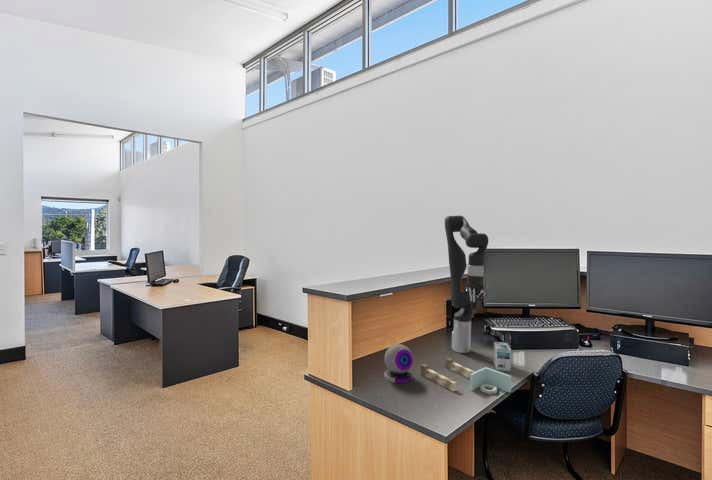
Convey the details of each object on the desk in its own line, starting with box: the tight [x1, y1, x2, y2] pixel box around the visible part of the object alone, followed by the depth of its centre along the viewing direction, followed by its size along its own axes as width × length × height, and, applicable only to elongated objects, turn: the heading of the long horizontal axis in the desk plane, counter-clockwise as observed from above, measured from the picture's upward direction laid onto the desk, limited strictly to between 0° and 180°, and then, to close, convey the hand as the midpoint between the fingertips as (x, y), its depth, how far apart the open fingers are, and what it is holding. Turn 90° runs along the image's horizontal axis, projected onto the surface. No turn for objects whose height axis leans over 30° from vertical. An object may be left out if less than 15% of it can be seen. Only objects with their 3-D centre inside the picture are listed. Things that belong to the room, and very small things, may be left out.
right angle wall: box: [469, 366, 512, 395], centre depth 158 cm, size 12×12×8 cm
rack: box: [420, 357, 476, 392], centre depth 170 cm, size 20×18×4 cm
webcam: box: [383, 343, 414, 384], centre depth 170 cm, size 13×13×15 cm
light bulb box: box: [493, 341, 512, 372], centre depth 184 cm, size 11×7×11 cm, turn 168°
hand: (473, 309), depth 183 cm, fingers closed
